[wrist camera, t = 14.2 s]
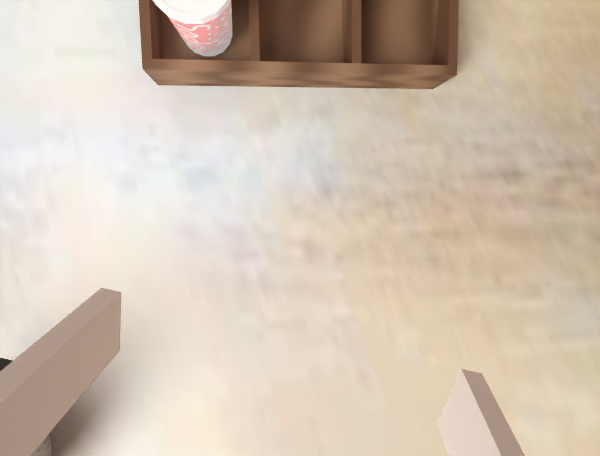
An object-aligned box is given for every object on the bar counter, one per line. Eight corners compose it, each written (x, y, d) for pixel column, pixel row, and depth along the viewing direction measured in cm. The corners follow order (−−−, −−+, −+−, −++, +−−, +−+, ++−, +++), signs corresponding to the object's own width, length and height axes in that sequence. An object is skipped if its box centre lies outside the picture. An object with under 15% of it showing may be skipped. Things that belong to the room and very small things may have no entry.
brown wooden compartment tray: (435, -14, 36) (461, -45, 31) (433, 88, 37) (458, 73, 32) (151, -27, 33) (134, -64, 29) (157, 84, 34) (141, 67, 30)
